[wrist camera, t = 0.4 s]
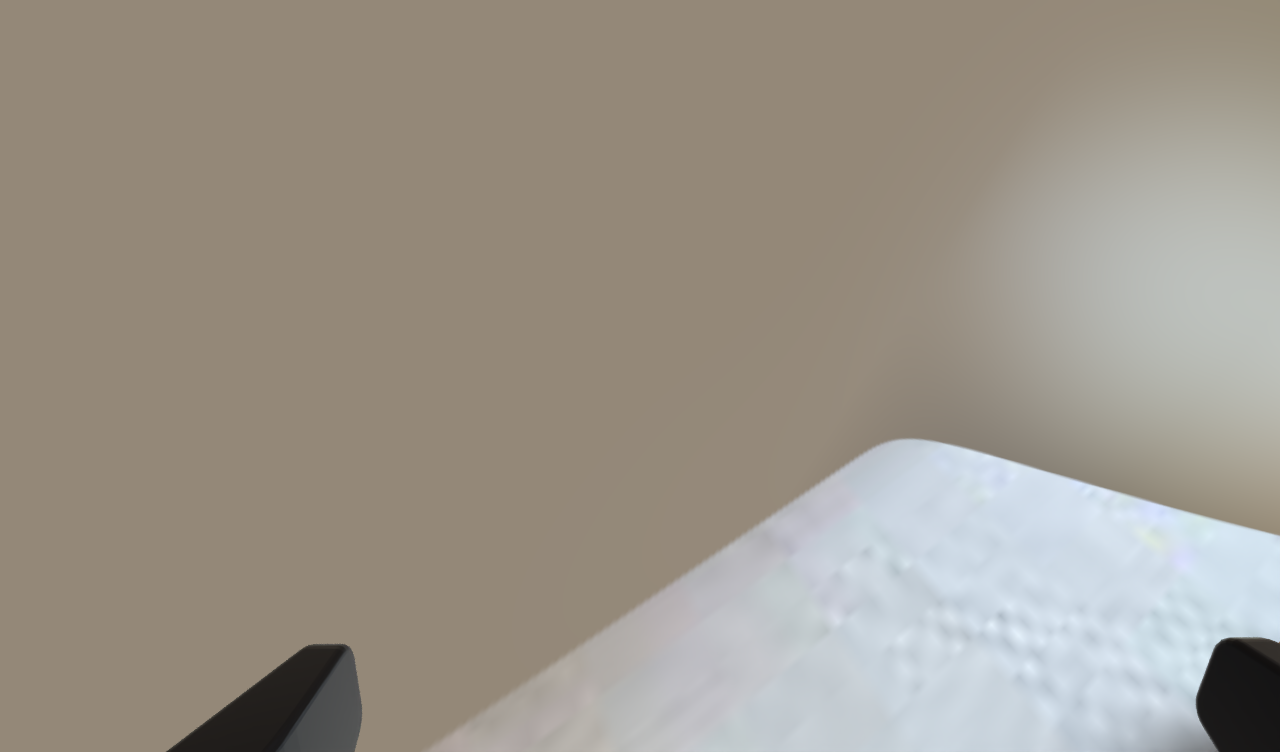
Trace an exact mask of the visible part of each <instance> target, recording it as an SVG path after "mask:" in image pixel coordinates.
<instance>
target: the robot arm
mask: <svg viewBox="0 0 1280 752" xmlns="http://www.w3.org/2000/svg"><path fill="white" fill-rule="evenodd" d="M1196 710H1197V714H1198V717H1199V720H1200V722H1201V724H1202V726H1203V727H1204V729H1205V731H1206V732H1207V734H1208V736H1209V737H1210V739H1211V740H1212V742H1213V744H1214V745H1215V747H1216V749H1217V750H1218V752H1280V643H1277V642H1275V641H1272V640H1270V639H1266V638H1259V637H1236V638H1226V639H1222V640H1221V641H1220V642H1219V643H1218V644H1217V645H1216V646H1215V648H1214V650H1213V652H1212V655H1211V658H1210V660H1209V663H1208V666H1207V668H1206V671H1205V674H1204V676H1203V679H1202V682H1201V684H1200V687H1199V690H1198V692H1197V696H1196ZM361 721H362V704H361V697H360V691H359V685H358V678H357V672H356V665H355V659H354V655H353V652H352V650H351V648H350V647H349V646H347V645H345V644H313V645H308V646H306V647H304V648H303V649H301V650H300V651H298V652H297V653H296V654H294V655H293V656H292V657H290V658H289V659H288V660H286V661H285V662H284V663H282V664H281V665H280V666H278V667H277V668H276V669H274V670H273V671H272V672H271V673H269V674H268V675H267V676H265V677H264V678H263V679H261V680H260V681H259V682H257V683H256V684H255V685H253V686H252V687H251V688H249V689H248V690H247V691H246V692H244V693H243V694H242V695H240V696H239V697H238V698H236V699H235V700H234V701H232V702H231V703H230V704H228V705H227V706H226V707H224V708H223V709H222V710H221V711H219V712H218V713H217V714H215V715H214V716H213V717H211V718H210V719H209V720H207V721H206V722H205V723H203V724H202V725H201V726H199V727H198V728H197V729H195V730H194V731H193V732H191V733H190V734H189V735H188V736H186V737H185V738H184V739H182V740H181V741H180V742H179V743H177V744H176V745H174V746H173V747H172V748H171V749H169V750H168V751H167V752H354V751H355V748H356V744H357V740H358V736H359V732H360V727H361Z"/></svg>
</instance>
